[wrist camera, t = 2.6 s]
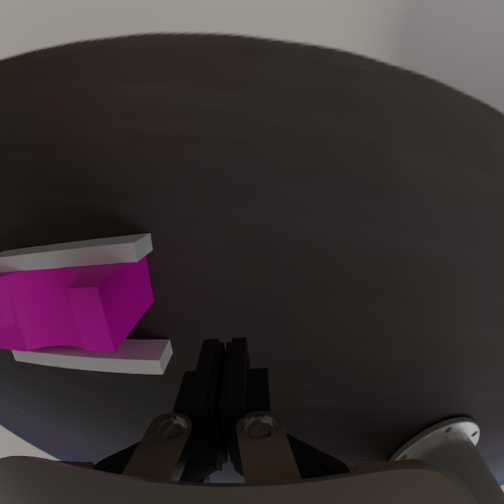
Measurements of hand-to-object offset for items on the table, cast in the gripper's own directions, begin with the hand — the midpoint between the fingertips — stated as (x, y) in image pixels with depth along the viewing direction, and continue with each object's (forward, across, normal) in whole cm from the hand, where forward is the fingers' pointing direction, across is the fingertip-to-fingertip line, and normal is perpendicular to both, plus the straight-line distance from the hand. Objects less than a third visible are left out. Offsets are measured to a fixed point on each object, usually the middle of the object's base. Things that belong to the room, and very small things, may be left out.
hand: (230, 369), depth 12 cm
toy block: (+11, +14, 0) cm, 18 cm away
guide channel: (+10, +13, +1) cm, 17 cm away
